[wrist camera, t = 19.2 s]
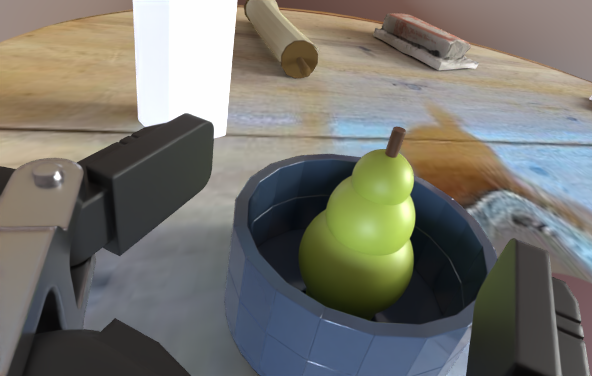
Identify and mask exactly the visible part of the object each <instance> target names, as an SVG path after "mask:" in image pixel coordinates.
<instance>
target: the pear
mask: <svg viewBox="0 0 592 376" xmlns="http://www.w3.org/2000/svg"><path fill="white" fill-rule="evenodd" d="M405 133H406V130H405V129H403V128H401V127H394V128H393V130H392V133H391V136H390V139H389V142H388V145H387V148H386V149H379V150H374V151H371V152H369V153H367V154H365V155H364V156H363V157H362V158H361V159H360V160H359V161H358V162H357V163H356V165H355V167H354V170H353V173H352V176H350V177H348V178H346V179H345V180H343V181H342V182H341V183H340V184H339V185H338V186H337V187H336V188H335V190H334V191H333V192H332V194H331V196H330V198H329V201H328V203H327V208H326V210H324V211H322V212H321V213H320V214H319V215H318V216H316V217H315V218H314V219H313V220H312V222H311V223H310V224H309V226H308V227H307V229H306V231H305V233H304V235H303V237H302V240H301V243H300V247H299V268H300V273H301V276H302V279H303V281H304V283H305V285H306V287H307V288H306V295H308V296H309V297H311V298H313V299H314V300H316V301H317V302H319V303H321V304H322V305H324V306H326V307H328V308H331V309H335V310H338V311H341V312H344V313H347V314H350V315H353V316H356V317H360V318H363V319H366V320H369V321H370V320H371V319H372V318H373V317H374V315H375V314H377V313H379V312H382V311H384V310H386V309H387V308H389V307H390V306H391V305H393V304H394V303H395V302H396V301H397V300H398V299H399V298H400V297H401V296H402V295H403V293H404V291H405V290H406V288H407V286H408V285H409V282H410V279H411V276H412V272H413V266H414V255H413V249H412V244H411V241H410V239H409V238H410V236H411V234H412V232H413V229H414V225H415V208H414V204H413V201H412V198H411V196H410V193H411V191H412V188H413V184H414V175H413V171H412V168H411V166H410V164H409V163H408V161H407V160H406V159H405V158H404V157H403V156H402V155H400V154H399V150H400V147H401V145H402V142H403V139H404V136H405Z"/></svg>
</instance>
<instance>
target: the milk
mask: <svg viewBox="0 0 592 376" xmlns="http://www.w3.org/2000/svg"><path fill="white" fill-rule="evenodd" d="M236 8H237V0H133V15H134V37H135V59H136V81H137V103H138V120H139V121H140V122H141V123H142V124H143V125H144V126H145V127H148V126H152V125H157V124H161V123H167V122H169V121H170V120H172V119H174V118H176V117H178V116H180V115H182V114H184V113H189V114H192V115H195V116H197V117H200V118H203V119H205V120H208V121H210V122H212V123H213V125H214V138H217V137H221V136H224V135H225V134H226V124H227V112H228V101H229V89H230V78H231V66H232V54H233V43H234V31H235V20H236Z"/></svg>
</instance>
